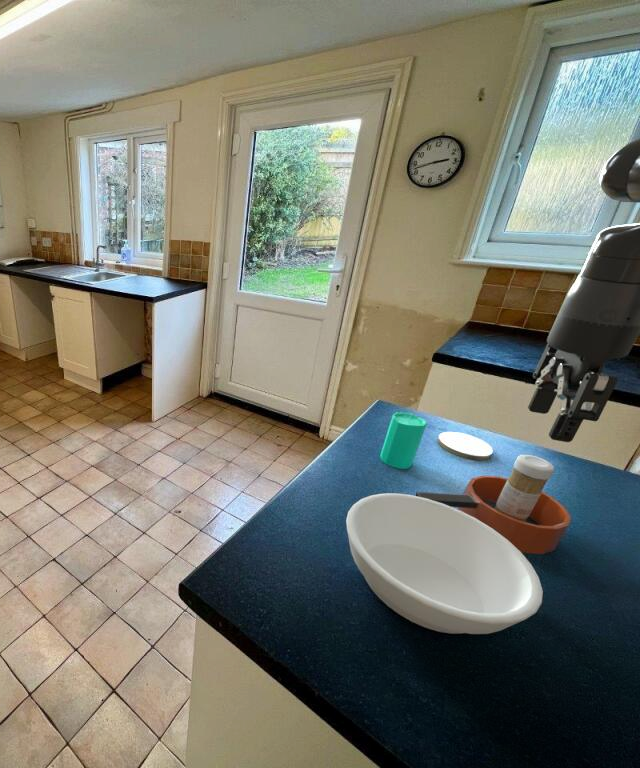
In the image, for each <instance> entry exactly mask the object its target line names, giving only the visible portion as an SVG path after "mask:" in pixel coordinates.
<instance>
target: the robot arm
mask: <svg viewBox="0 0 640 768" xmlns="http://www.w3.org/2000/svg"><path fill="white" fill-rule="evenodd" d="M599 184H600V188H601V190H602V192H603V193H604V194H605V196H607V197H609V198H610V199H611V200H614V201H618V202H622V203H640V137H638V138H636V139H634V140H632V141H630V142H629V143H627V144H626V145H623V147H621V148H620V149H618V150H617V151H616V152H615V153H614V154H613V155H612V156H611V157H610V158H609V159H608V160H607V162H606V163H605V164H604V166H603V168H602V170H601V172H600V177H599ZM639 335H640V222H639V223H632V224H622V225H615V226H611V227H607V228H605V229H603V230H601V231H600V232H599V233H598V234H597V235H596V237H595V238H594V239H593V242H592V244H591V246H590V248H589V250H588V253H587V255H586V257H585V259H584V262H583V264H582V266H581V268H580V270H579V272H578V275H577V277H576V278H575V281H574V282H573V283H572V285H571V286H570V288H569V290H568V291H567V293H566V295H565V298H564V300H563V301H562V304H561V306H560V309H559V311H558V313H557V316H556V318H555V320H554V322H553V324H552V327H551V329H550V331H549V333H548V336H547V338H546V342H547V344H546V346H545V348H544V350H543V353H542V355H541V357H540V359H539V361H538V364H537V365H536V368H535V370H534V371H533V374H532V378H533V379H536V381H534V382H535V384H534V385H535V391H534V393H533V395H532V397H531V400H530V401H529V403H528V405H527V409H528V410H529V411H530V412H531V413H536V414H543V415H545V414H548V413H550V410H551V408H552V406H553V403H554V402H555V399H556V398H558V399H560V408H559V409H560V410H559V413H558V414H557V416H556V418H555V420H554V423H553V424H552V426H551V428H550V430H549V433H548V437H549V438H550V439H551V440H553V441H558V442H563V443H570V442H572V441H573V440H574V438H575V437H576V434H577V432H578V430H579V429H580V427H581V426H582V423H583V421H584V420H585V421H591V422H598V421H599V419H600V417H601V415H602V413H603V411H604V409H605V407H606V406H607V404H608V401H609V399H610V397H611V395H612V393H613V392H614V389H615V387H616V385H617V383H618V376H616V375H608V374H604V369H605V366H606V363H607V362H608V361H610V360H614V359H615V360H616V359H617V360H618V359H622V358H626V357H627V356H628V355H629V354H630V352H631V350H632V349H633V346H634V345H635V342H636V341H637V339H638V338H639ZM592 404H593V405H592Z"/></svg>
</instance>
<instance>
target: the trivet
mask: <svg viewBox="0 0 640 768" xmlns="http://www.w3.org/2000/svg"><path fill="white" fill-rule="evenodd" d="M437 443H438V445H439V446H440V447H441V448H442V449H444V450H445V451H447V452H449V453H451V454H453V455H456V456H458V457H462V458H464V459H465V458H466V459H470V460H476V461H477V460H478V461H481V460H482V461H484V460H488V459H490V458H492V455H493V453H494V449H493V447H492V446H491V445H490V444H489V443H487V442H485V441H484V440H482V439H480V438H479V437H476V436H473V435H470V434H467V433H463V432H457V431H444V432H441V433H439V435H438V437H437Z"/></svg>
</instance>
